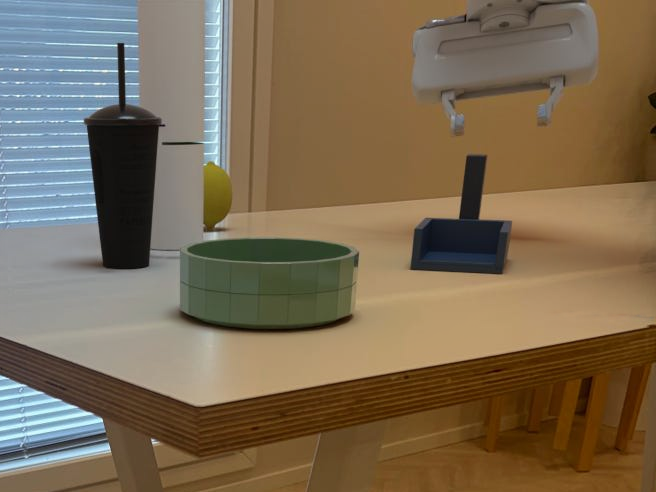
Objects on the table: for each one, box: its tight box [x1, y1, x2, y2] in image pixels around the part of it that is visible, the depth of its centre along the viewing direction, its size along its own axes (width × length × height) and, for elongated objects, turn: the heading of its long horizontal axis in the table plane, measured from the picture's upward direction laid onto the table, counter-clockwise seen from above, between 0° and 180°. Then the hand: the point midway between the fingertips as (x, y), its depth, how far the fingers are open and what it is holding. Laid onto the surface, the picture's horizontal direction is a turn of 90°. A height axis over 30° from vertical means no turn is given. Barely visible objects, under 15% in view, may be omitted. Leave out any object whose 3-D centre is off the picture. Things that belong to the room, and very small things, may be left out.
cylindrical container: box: [137, 0, 206, 251], centre depth 113 cm, size 7×7×25 cm
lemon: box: [203, 160, 233, 231], centre depth 130 cm, size 6×6×8 cm
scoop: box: [410, 153, 513, 275], centre depth 105 cm, size 9×12×10 cm
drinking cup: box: [83, 42, 162, 270], centre depth 102 cm, size 8×8×20 cm
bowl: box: [179, 236, 360, 330], centre depth 83 cm, size 14×14×5 cm
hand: (499, 129), depth 117 cm, fingers open, 8 cm apart
